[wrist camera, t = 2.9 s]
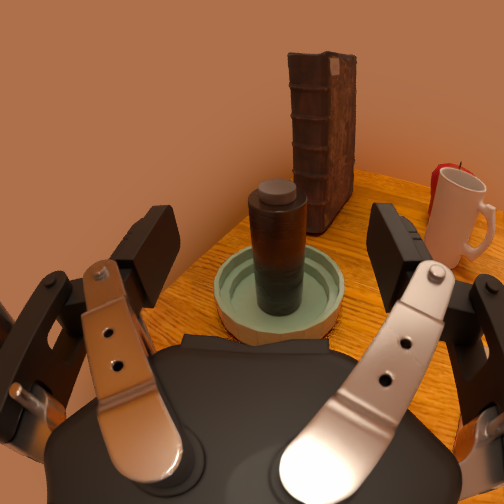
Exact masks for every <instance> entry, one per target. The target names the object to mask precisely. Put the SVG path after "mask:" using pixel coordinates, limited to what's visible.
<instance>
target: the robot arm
mask: <svg viewBox="0 0 504 504" xmlns="http://www.w3.org/2000/svg"><path fill="white" fill-rule="evenodd" d="M366 245H367V252H368V255H369V258H370V261H371V264H372V267H373V270H374V273H375V277H376V280H377V283H378V286H379V290H380V293H381V297H382V300H383V304H384V307H385V311H386V313H390V314H389V315H388V317H387V319H386V320H385V322H384V323H383V325H382V327H381V328H380V330H379V332H378V333H377V335H376V336H375V338H374V339H373V341H372V343H371V344H370V346H369V347H368V349H367V350H366V352H365V353H364V355H363V356H362V357H361V359H360V360H359V361H357V360H356V359H354V358H352V357H351V356H348V355H346V354H344V353H341V352H338V351H335V350H330V349H329V339H290V340H285V341H280V342H275V343H270V344H264V345H259V346H250V345H246V344H242V343H239V342H235V341H231V340H228V339H224V338H221V337H218V336H203V335H190V334H184V336H183V339H182V342H181V344H179V345H175V346H170V347H167V348H165V349H162V350H160V351H158V352H157V351H156V349H155V347H154V344H153V342H152V340H151V337H150V335H149V332H148V330H147V327H146V325H145V322H144V320H143V317H142V315H141V313H140V311H141V309H142V307H144V308H154V306H155V304H156V302H157V299H158V297H159V295H160V292H161V290H162V288H163V285H164V283H165V281H166V279H167V276H168V274H169V272H170V269H171V267H172V265H173V263H174V261H175V259H176V256H177V254H178V252H179V249H180V235H179V232H178V227H177V224H176V220H175V216H174V212H173V208H172V207H171V206H170V205H160V206H152V208H150V210H149V211H148V213H147V214H146V215H145V217H144V218H141V219H140V220H139V221H137V222H136V223H135V224H134V225H132V227H131V228H130V230H129V231H128V232H127V234H126V235H125V237H124V238H123V240H122V241H121V242H120V244H119V245H118V246H117V248H116V250H115V251H114V252H113V254H112V255H111V257H110V258H109V259H108V260H102V261H99V262H97V263H95V264H93V265H91V266H90V267H89V268H88V269H87V270H86V272H85V273H84V275H83V278H80V279H75V280H71V281H69V279H68V277H67V276H66V274H65V272H63V271H55V272H52V273H50V274H48V275H47V276H46V277H45V278H43V279H42V281H41V282H40V283H39V285H38V286H37V288H36V289H35V291H34V292H33V294H32V296H31V297H30V299H29V300H28V302H27V303H26V305H25V307H24V308H23V310H22V312H21V313H20V315H19V317H18V319H17V320H16V322H15V321H14V319H13V318H12V317H11V316H10V314H9V313H8V311H6V309H5V308H4V306H3V305H2V303H1V302H0V443H1V444H3V445H4V446H6V447H8V448H9V449H11V450H13V451H15V452H17V453H19V454H21V455H23V456H27V457H28V458H30V459H33V460H34V461H37V462H39V463H42V464H44V467H45V473H46V481H47V504H457V503H458V501H460V500H463V499H466V498H469V497H471V496H474V495H477V494H483V493H486V492H489V491H492V490H495V489H498V488H501V487H503V486H504V285H503V284H502V283H501V282H500V281H499V280H498V279H497V278H495V277H493V276H491V275H488V274H480V275H478V276H477V277H476V279H475V281H474V283H473V285H472V284H468V283H464V282H460V281H457V280H455V277H454V275H453V273H452V271H451V270H450V269H449V268H448V267H447V266H445V265H444V264H442V263H440V262H437V261H434V260H433V258H432V256H431V254H430V253H429V251H428V249H427V247H426V245H425V244H424V242H423V240H421V237H420V235H419V233H417V230H416V228H415V227H414V225H413V223H411V222H410V221H409V220H408V219H406V218H405V217H404V216H399V214H398V213H397V211H396V209H395V208H394V206H393V204H391V203H373V205H372V208H371V214H370V220H369V226H368V232H367V240H366ZM55 320H57V321H58V322H59V324H60V325H61V326H62V328H63V329H62V330H61V332H60V334H59V336H58V339H57V341H56V343H55V345H54V347H53V349H51V348H50V347H49V345H48V341H47V337H48V333H49V331H50V329H51V327H52V325H53V323H54V322H55ZM483 334H484V335H485V338H486V341H487V344H488V347H489V357H488V359H487V356H486V352H485V349H484V346H483V343H482V340H481V337H482V336H483ZM438 341H444V342H446V346H447V349H448V353H449V357H450V361H451V365H452V370H453V374H454V378H455V383H456V388H457V393H458V399H459V404H460V411H461V417H462V424H463V428H462V429H461V430H460V432H459V434H458V436H457V440H456V445H455V447H454V450H453V453H454V455H453V453H452V452H451V451H450V450H449V449H448V448H447V447H446V446H445V445H444V444H443V443H442V442H441V441H440V440H439V439H438V438H437V437H436V436H435V435H434V434H433V433H432V432H431V431H430V430H429V429H428V428H427V427H426V426H425V425H424V424H423V423H422V422H421V421H420V420H419V419H418V418H417V417H416V416H415V415H414V414H413V413H412V412H411V411H410V410H409V409H408V407H409V405H410V403H411V401H412V399H413V397H414V395H415V393H416V391H417V389H418V387H419V385H420V383H421V381H422V379H423V377H424V374H425V372H426V370H427V368H428V365H429V363H430V361H431V358H432V356H433V354H434V351H435V349H436V346H437V344H438ZM86 353H87V357H88V362H89V367H90V371H91V376H92V380H93V384H94V388H95V392H96V396H97V397H96V398H94V399H93V400H92V401H90V402H89V403H88V404H87V405H85V406H84V407H82V408H81V409H80V410H78V411H77V412H76V413H74V414H73V415H72V416H70V417H69V418H68V419H66V411H65V410H66V407H67V404H68V401H69V398H70V396H71V393H72V390H73V387H74V384H75V382H76V378H77V376H78V374H79V371H80V368H81V366H82V363H83V361H84V358H85V356H86Z"/></svg>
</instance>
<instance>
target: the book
mask: <svg viewBox="0 0 504 504" xmlns="http://www.w3.org/2000/svg"><path fill="white" fill-rule="evenodd" d="M356 63H357V61H356V56H355V55H346V54H339V53H335V52H330V51H325V52H323V53H321V54H302V53H288V67H289V79H290V82H289V87H290V90H291V108H292V113H291V118H292V126H293V142H292V146H293V165H294V166H293V170H292V171H293V173H294V183H295V184H296V188H298V189H300V190H302V191H303V192H304V193H305V194H306V195H307V225H306V232H310V233H321V232H324V231H325V230H326V229H327V228H328V227H329V226H330V224H331V223H332V220H333V218H334V217H335V216H336V214H337V213H338V211H339V210H340V208H341V207H342V206H343V204H344V203H345V202H346V201H347V200H348V199H349V197H350V196H351V194H352V192H353V182H354V173H353V166H354V163H355V159H354V158H355V157H354V151H355V124H356Z"/></svg>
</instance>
